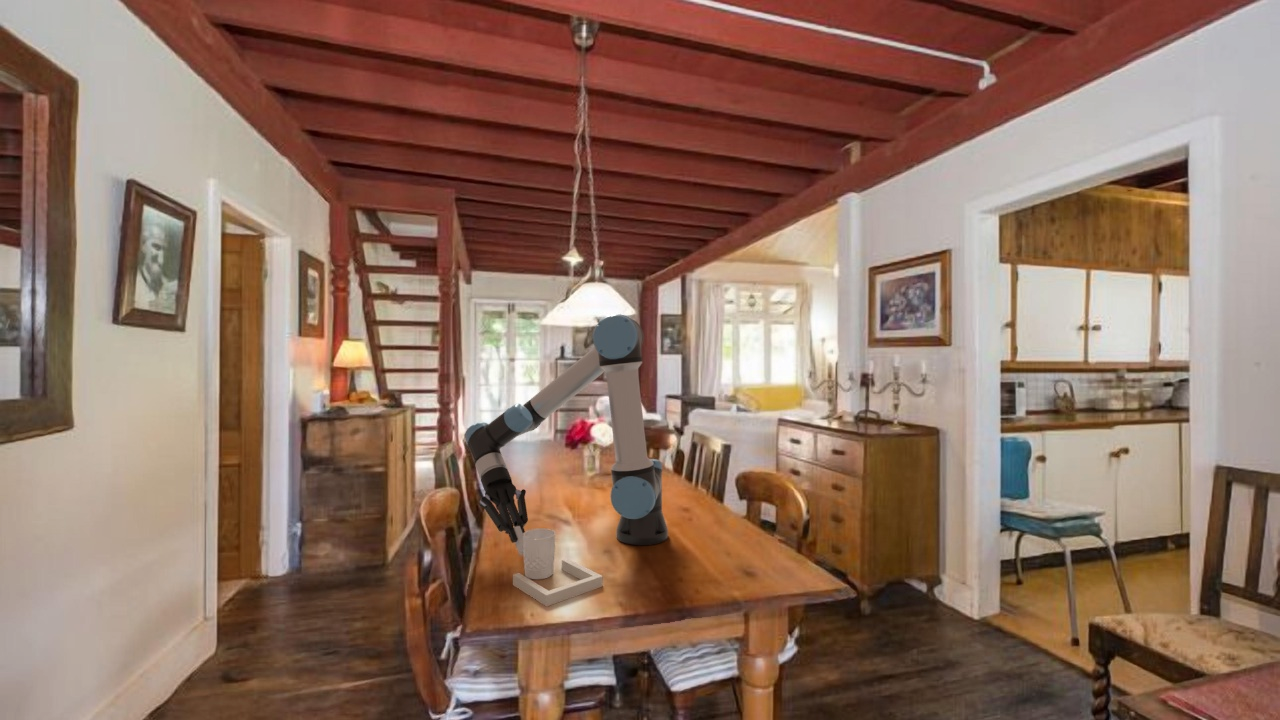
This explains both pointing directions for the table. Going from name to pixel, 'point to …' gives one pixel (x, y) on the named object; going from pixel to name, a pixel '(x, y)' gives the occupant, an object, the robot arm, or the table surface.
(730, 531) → the table surface
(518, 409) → the robot arm
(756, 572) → the table surface
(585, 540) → the table surface
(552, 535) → the white cup
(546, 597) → the bay
